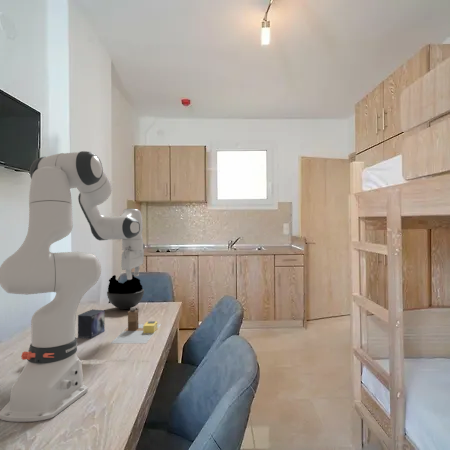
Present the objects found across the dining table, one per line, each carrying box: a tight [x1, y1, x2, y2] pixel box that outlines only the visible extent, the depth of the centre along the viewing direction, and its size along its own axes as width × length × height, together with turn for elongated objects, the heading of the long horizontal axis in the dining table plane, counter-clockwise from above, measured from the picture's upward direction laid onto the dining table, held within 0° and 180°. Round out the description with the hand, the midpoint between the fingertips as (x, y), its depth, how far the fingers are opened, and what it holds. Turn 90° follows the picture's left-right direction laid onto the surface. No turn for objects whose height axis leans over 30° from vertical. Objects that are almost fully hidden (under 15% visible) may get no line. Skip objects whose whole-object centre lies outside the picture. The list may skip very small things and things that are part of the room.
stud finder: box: [143, 320, 158, 334], centre depth 152 cm, size 7×4×3 cm, turn 179°
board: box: [110, 323, 162, 344], centre depth 148 cm, size 26×14×1 cm, turn 177°
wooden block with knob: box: [127, 306, 139, 331], centre depth 153 cm, size 4×4×10 cm
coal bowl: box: [106, 274, 145, 310], centre depth 197 cm, size 20×20×19 cm
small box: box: [77, 309, 106, 340], centre depth 147 cm, size 11×6×10 cm, turn 168°
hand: (133, 277), depth 154 cm, fingers open, 8 cm apart
